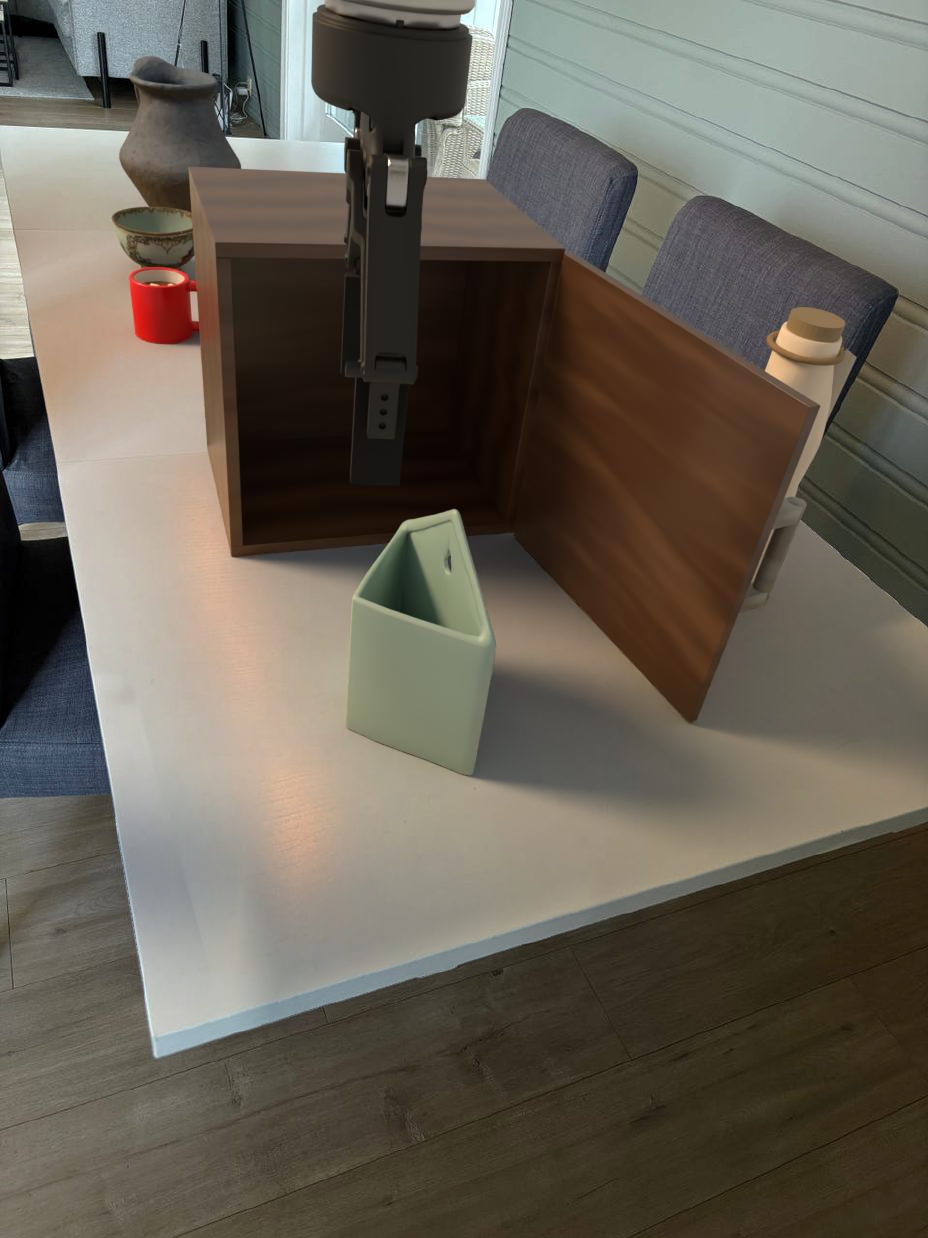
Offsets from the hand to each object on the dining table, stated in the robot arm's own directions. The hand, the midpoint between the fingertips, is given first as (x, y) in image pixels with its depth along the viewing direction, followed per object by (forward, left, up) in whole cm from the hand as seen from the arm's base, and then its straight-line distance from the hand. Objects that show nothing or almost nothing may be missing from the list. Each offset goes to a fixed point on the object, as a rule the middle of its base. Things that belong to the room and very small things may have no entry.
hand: (367, 423), depth 56 cm
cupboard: (+3, +39, -28) cm, 48 cm away
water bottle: (+43, +25, -29) cm, 57 cm away
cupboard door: (+27, +17, -28) cm, 43 cm away
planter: (+4, +3, -29) cm, 29 cm away
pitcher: (-24, +132, -29) cm, 137 cm away
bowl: (-25, +105, -29) cm, 112 cm away
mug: (-20, +80, -29) cm, 87 cm away
